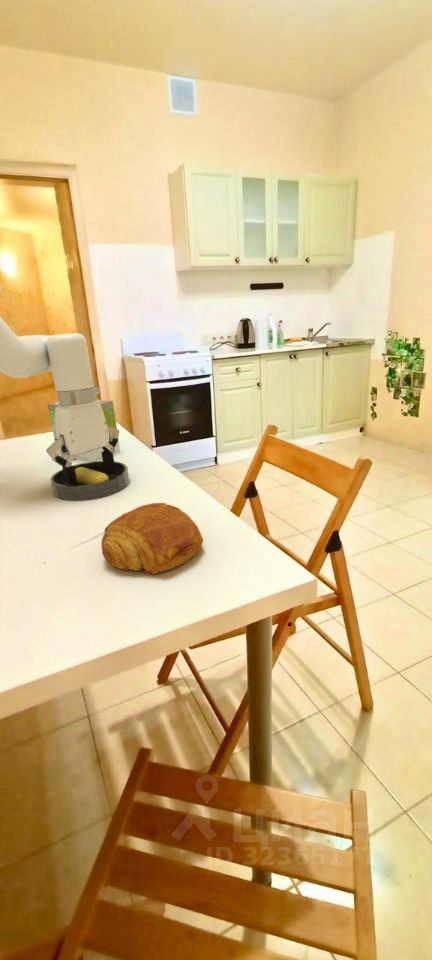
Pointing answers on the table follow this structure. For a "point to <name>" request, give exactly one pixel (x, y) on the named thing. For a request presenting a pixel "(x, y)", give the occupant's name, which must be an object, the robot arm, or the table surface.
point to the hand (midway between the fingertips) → (91, 476)
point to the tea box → (110, 421)
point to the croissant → (151, 539)
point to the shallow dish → (93, 491)
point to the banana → (89, 476)
